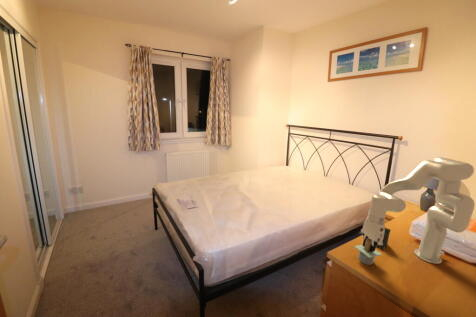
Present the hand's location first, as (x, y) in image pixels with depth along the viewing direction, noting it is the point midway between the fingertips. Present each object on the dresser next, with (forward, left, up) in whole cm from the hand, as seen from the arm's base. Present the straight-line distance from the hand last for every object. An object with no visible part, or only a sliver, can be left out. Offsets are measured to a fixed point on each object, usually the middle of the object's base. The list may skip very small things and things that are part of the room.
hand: (368, 248), depth 123 cm
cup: (0, 0, -7) cm, 7 cm away
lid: (0, 0, -2) cm, 2 cm away
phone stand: (-22, -12, -8) cm, 26 cm away
